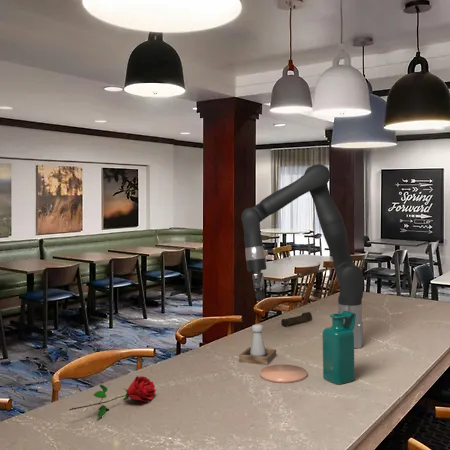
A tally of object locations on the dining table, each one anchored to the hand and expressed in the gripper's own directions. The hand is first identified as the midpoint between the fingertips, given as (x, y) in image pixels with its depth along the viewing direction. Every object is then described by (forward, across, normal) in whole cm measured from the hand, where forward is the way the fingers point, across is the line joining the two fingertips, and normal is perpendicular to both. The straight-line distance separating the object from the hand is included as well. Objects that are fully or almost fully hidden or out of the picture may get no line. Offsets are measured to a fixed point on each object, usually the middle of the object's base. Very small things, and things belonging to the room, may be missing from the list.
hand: (261, 299), depth 203 cm
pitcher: (+28, -24, -26) cm, 45 cm away
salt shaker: (+22, -5, +4) cm, 23 cm away
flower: (+24, -56, +40) cm, 73 cm away
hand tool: (+16, +51, -10) cm, 54 cm away
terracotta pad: (+25, -22, -7) cm, 34 cm away
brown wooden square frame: (+22, -5, +4) cm, 22 cm away
